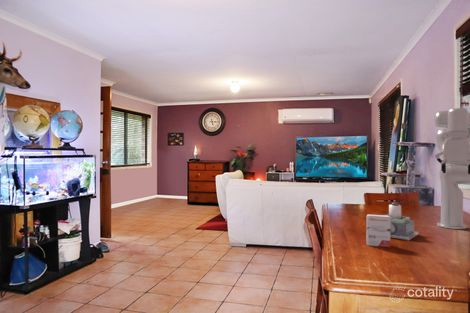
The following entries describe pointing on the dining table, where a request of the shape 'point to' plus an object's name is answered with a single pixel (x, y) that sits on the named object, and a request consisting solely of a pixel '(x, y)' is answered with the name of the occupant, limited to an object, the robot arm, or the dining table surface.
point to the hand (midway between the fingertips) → (456, 173)
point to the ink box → (378, 230)
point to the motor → (402, 228)
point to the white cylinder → (395, 211)
